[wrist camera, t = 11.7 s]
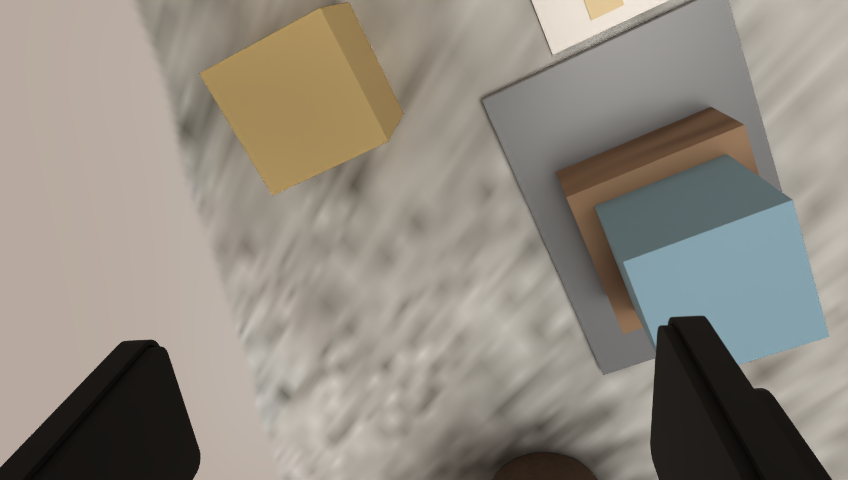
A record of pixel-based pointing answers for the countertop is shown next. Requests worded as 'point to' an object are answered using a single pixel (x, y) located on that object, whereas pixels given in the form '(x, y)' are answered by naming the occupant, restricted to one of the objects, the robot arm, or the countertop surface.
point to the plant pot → (544, 468)
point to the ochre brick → (306, 97)
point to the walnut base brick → (645, 183)
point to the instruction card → (584, 18)
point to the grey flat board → (619, 134)
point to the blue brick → (717, 258)
